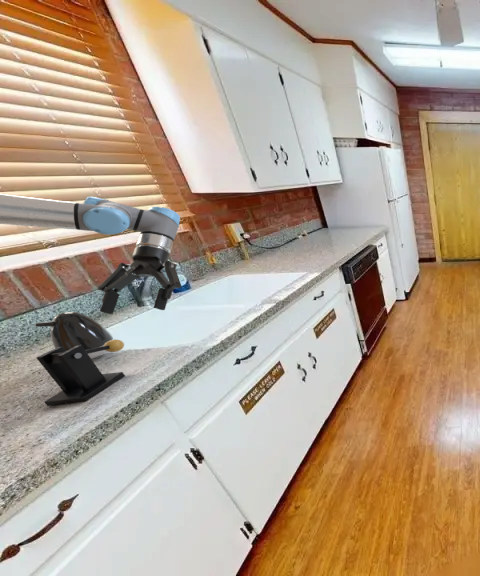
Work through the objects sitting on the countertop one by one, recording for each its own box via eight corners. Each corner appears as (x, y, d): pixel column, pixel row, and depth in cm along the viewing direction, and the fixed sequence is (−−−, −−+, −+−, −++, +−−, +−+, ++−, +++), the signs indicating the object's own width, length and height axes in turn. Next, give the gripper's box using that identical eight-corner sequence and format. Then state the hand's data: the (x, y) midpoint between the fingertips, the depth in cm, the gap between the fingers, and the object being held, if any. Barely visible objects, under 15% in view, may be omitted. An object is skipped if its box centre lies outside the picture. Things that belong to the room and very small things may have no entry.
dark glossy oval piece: (59, 362, 90) (24, 318, 84) (110, 343, 98) (83, 303, 93) (74, 368, 86) (39, 323, 80) (126, 348, 95) (98, 307, 89)
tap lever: (114, 350, 87) (112, 338, 86) (129, 349, 87) (127, 337, 87) (48, 366, 73) (46, 352, 73) (66, 364, 73) (64, 350, 73)
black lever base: (91, 379, 83) (63, 341, 77) (125, 375, 84) (100, 338, 79) (47, 406, 74) (12, 365, 68) (86, 402, 75) (55, 361, 70)
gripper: (205, 253, 104) (190, 310, 96) (120, 257, 99) (97, 317, 92) (186, 243, 97) (169, 303, 89) (94, 246, 92) (67, 310, 85)
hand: (133, 310), depth 91 cm, fingers open, 13 cm apart
